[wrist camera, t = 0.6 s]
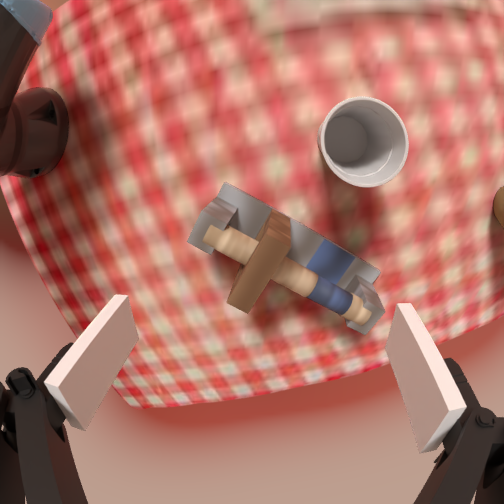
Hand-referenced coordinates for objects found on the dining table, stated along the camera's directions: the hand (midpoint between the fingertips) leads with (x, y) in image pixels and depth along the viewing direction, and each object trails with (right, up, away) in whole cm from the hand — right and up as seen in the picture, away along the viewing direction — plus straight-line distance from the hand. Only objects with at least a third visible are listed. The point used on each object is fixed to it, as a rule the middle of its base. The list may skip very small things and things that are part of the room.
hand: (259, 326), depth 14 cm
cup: (+11, +17, +20) cm, 29 cm away
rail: (+5, +4, +26) cm, 27 cm away
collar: (+1, +5, +25) cm, 25 cm away
